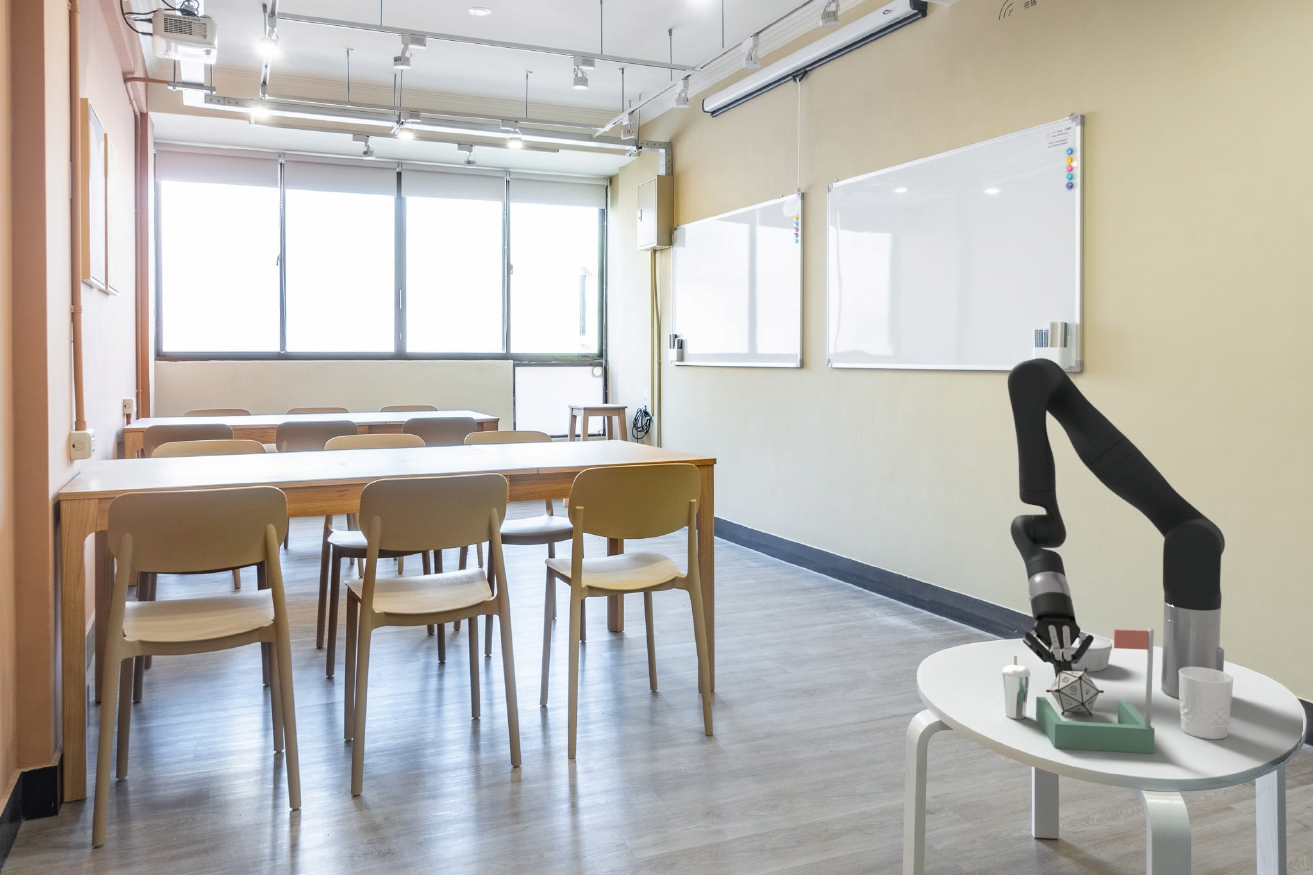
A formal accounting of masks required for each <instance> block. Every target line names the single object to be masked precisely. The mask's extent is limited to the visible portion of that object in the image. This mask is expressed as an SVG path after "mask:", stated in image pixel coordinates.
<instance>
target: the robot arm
mask: <svg viewBox="0 0 1313 875" xmlns="http://www.w3.org/2000/svg"><path fill="white" fill-rule="evenodd" d="M1007 389H1008V396H1009V400H1010V405H1011V410H1012V414H1013V421H1014V429H1015V433H1016V444H1017V453H1018V454H1017V457H1018V458H1017V459H1018V488H1019V490H1018V491H1019V499H1020V501H1021V502H1022V503H1024V504H1025V505H1031V506H1037V507H1040V508H1043V509H1044V511H1045V513H1044V514H1021V515H1017V516H1015V517H1014V519H1013V520H1012V522H1011V524H1010V534H1011V538H1012V541H1013V542H1014V545H1015V546H1016V549H1017V550H1018V552H1019V553H1020V556H1021V558H1022V560H1023V562H1024V564H1025V570H1026V574H1027V580H1028V581H1027V582H1028V595H1029V596H1028V598H1029V602H1030V606H1031V614H1032V619H1033V624H1034V625H1033V626H1032V627H1033V628H1032V630H1031V631H1028V632H1025V633H1024V636H1023V638H1022V641H1023V644H1025V645H1026V646H1027V647H1028V648H1029V649H1030V650H1031V651H1032V652H1033V653H1034V654H1035V655H1036V656H1037V657H1038V658H1039V659H1040V660H1041V661H1042V662H1044V663H1049V664H1052V665H1053V671H1054V674H1055V676H1054V677H1055V678H1056V677H1057V675H1058V673H1059V671H1058V670H1057V667H1059V668H1060V670H1061V671H1074V670H1073V669H1072V665H1071V664H1077V663H1078V662H1079V660H1080V659H1081V658H1082V656H1083V655H1084V654H1085V652H1086V651H1087V650H1088V648H1089V647H1090V646H1091V644H1092V642H1093V640H1094V637H1093V636H1092V635H1093V634H1089V635H1088V636H1087V635H1085V634H1086V633H1083V632H1082V631H1081V628H1080V626H1079V624H1078V623H1077V620H1076V615H1075V609H1074V605H1073V598H1072V594H1071V591H1070V590H1071V589H1070V586H1069V584H1068V581H1067V577H1066V572H1065V567H1064V562H1063V559H1062V556H1061V554H1059V553H1058V552H1056V551H1054V550H1051V549H1055V548H1059V547H1062V546H1063V544H1064V543H1065V542H1066V539H1067V530H1066V526H1065V523H1064V520H1063V517H1062V515H1061V512H1060V508H1059V505H1058V499H1057V489H1056V488H1057V485H1056V484H1057V482H1056V478H1057V477H1056V474H1057V473H1056V463H1055V458H1054V453H1053V449H1052V446H1051V442H1050V440H1049V435H1048V429H1047V413H1049V414H1050V415H1051V417H1053V418H1054V420H1056V421H1057V422H1058V424H1060V426H1061V427H1062V429H1063V430H1064V432H1065V433H1066V435H1067V438H1068V439H1069V441H1070V443H1071V445H1072V447H1073V449H1074V451H1075V453H1076V455H1077V456H1078V457H1079V459H1080V460H1081V462H1082V463H1083V465H1084V466H1085V467H1086V468H1087V469H1088V470H1089V471H1090V472H1091V473H1092V474H1093V475H1094V476H1095V477H1096V478H1097V479H1098V481H1100V483H1102V484H1103V485H1104V486H1105V487H1106V488H1107V489H1109V491H1111V492H1112V493H1114V494H1115V495H1116V496H1118V497H1119V498H1120V499H1121V500H1124V501H1125V502H1127V503H1128V504H1129V505H1131V506H1132V507H1134V508H1136V509H1137V510H1138V511H1139V512H1140V513H1141V514H1143V515H1144V516H1145V517H1146V518H1147V519H1148V520H1149V521H1150V522H1151V524H1153V526H1155V528H1156V530H1158V531H1159V533H1160V534H1161V535H1162V537H1163V538H1164V539H1163V550H1162V552H1163V553H1162V587H1163V588H1162V589H1163V591H1164V592H1163V593H1164V594H1163V595H1164V596H1163V598H1164V600H1163V627H1162V628H1163V630H1162V656H1161V657H1162V658H1161V659H1162V660H1161V676H1160V677H1161V679H1160V680H1161V681H1160V682H1161V690H1162V692H1163V693H1164V694H1167V695H1168V696H1171V697H1174V698H1177V699H1179V670H1180V669H1181V668H1185V667H1202V668H1209V669H1214V670H1218V671H1222V672H1224V669H1225V668H1224V665H1225V663H1224V662H1225V650H1224V648H1222V647H1221V646H1220V643H1221V614H1222V611H1221V610H1222V590H1221V573H1222V572H1221V571H1222V570H1221V569H1222V567H1221V565H1222V555H1223V553H1224V550H1225V549H1226V548H1225V546H1226V541H1225V540H1226V539H1225V537H1224V534H1223V532H1222V530H1221V529H1220V528H1219V527H1218V525H1216V523H1214V522H1213V521H1212V520H1211V519H1209V518H1208V517H1206V515H1205V514H1204V513H1202V512H1200V510H1198V509H1197V508H1196V507H1194V506H1193V505H1192V504H1191V503H1190V502H1188V501H1187V500H1186V499H1185V498H1184V497H1183V496H1182V495H1180V493H1178V492H1177V491H1176V490H1175V489H1174V487H1173V486H1172V485H1171V484H1170V483H1169V482H1168V480H1166V478H1165V477H1164V476H1163V475H1162V473H1161V472H1160V471H1159V470H1158V469H1157V467H1156V466H1155V465H1154V464H1153V463H1152V462H1151V461H1150V460H1149V459H1148V458H1147V457H1146V455H1144V454H1143V452H1142V451H1141V450H1140V449H1139V448H1138V447H1137V446H1136V445H1135V444H1134V443H1133V442H1132V441H1131V440H1130V439H1129V438H1128V437H1127V436H1126V434H1124V433H1123V432H1121V431H1120V430H1119V428H1117V427H1116V425H1114V424H1113V423H1112V422H1111V421H1110V420H1109V419H1108V418H1107V417H1106V416H1105V415H1104V414H1103V413H1102V412H1101V411H1100V410H1099V409H1097V407H1095V406H1094V405H1093V404H1092V403H1091V402H1090V401H1089V400H1088V399H1087V398H1086V397H1085V395H1084V394H1083V393H1082V391H1081V390H1080V389H1079V388H1078V387H1077V385H1076V384H1075V383H1074V382H1073V381H1072V379H1071V378H1070V377H1069V376H1068V375H1067V373H1066V372H1065V371H1064V369H1063V368H1062V366H1060V365H1059V364H1058V363H1057V362H1055V361H1053V360H1051V359H1049V358H1043V357H1040V358H1039V357H1038V358H1037V357H1036V358H1033V359H1029V360H1024V361H1021V362H1019V363H1017V364H1016V365H1014V367H1013V368H1012V369H1011V370H1010V372H1009V373H1008V378H1007ZM1077 637H1078V638H1079V642H1078V643H1079V645H1080V646H1079V648H1078V649H1077V650H1076V652H1075V653H1074V654H1071V646H1072V645H1073V643H1074V642H1075V640H1076V639H1077ZM1044 645H1045V646H1044Z"/></svg>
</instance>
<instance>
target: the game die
mask: <svg viewBox="0 0 1313 875" xmlns="http://www.w3.org/2000/svg"><path fill="white" fill-rule="evenodd" d="M1057 670H1058V671H1059V673H1058V675H1057V677H1056V676H1055V680H1054V682H1053V684H1052V686H1051V687H1050V689H1046V690H1045V692H1046V693H1051V695H1052V696H1053V698H1054V700H1055V701H1056V702H1057V704H1058V705H1059V707H1060V708H1061V709H1062V711H1061V713H1060V714H1061V716H1065V713H1088V715H1089V716H1091V717H1093V713H1092V711H1091V710H1092V708H1093V706H1094V704H1095V702H1096V700H1097V698H1098V697H1099V694H1103V693H1105V691H1104V690H1103V689H1100V690H1099V689H1098V686H1096V684H1095V683H1094V681H1093V680H1092V679H1091V677H1090V676H1089V674H1088V672H1086V671H1087V667H1086V668H1084V671H1078V670H1073V671H1061V670H1060V668H1059V667H1057Z"/></svg>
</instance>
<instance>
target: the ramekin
mask: <svg viewBox="0 0 1313 875" xmlns="http://www.w3.org/2000/svg"><path fill="white" fill-rule="evenodd" d="M1084 634H1085V635H1087V636H1088V635H1090V634H1087V633H1084ZM1091 635H1092V636H1093V637H1094V640H1093V642H1092V644H1091V646H1090V647H1089V648H1088V650H1087V651H1086V652H1085V654H1084V655H1083V656H1082V658H1081V659H1080V660H1079V662H1078V663H1077V664H1071V665H1072V670H1073V671H1084V668H1086V667H1087V671H1086V673H1090V672H1102V671H1104V670H1105V669H1106V668H1107V666H1108V664H1109V661H1110V656H1111V653H1112V652H1111V651H1112V650H1113V643H1112V641H1110V640H1108V639H1107V638H1104V637H1102V636H1098V635H1094V634H1091ZM1078 642H1079V638H1078V637H1077V639H1076V640H1075V642H1074V643H1073V645H1072V646H1071V654H1074V653H1075V652H1076V650H1077V649H1078V648H1079V646H1080V645H1079V643H1078Z"/></svg>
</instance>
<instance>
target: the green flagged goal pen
mask: <svg viewBox="0 0 1313 875" xmlns="http://www.w3.org/2000/svg"><path fill="white" fill-rule="evenodd" d="M1154 631H1155V630H1154V629H1152V628H1148V629H1147V630H1146V629H1145V630H1141V629H1139V630H1138V629H1115V628H1114V630H1113V649H1124V650H1125V649H1126V650H1146V651H1147V654H1146V681H1145V682H1146V683H1145V684H1146V685H1145V716H1144V717H1143V715H1142V714H1141V713H1140V712H1139V711H1137V709H1136V708H1135V707H1134V706H1133V705H1132V703H1130V702H1129V701H1128V700H1118V701H1117V723H1111V722H1110V723H1105V722H1090V721H1089V722H1088V721H1087V722H1085V721H1072V720H1071V721H1070V720H1062V718H1061V716H1060V715H1059V714H1058V712H1057V711H1056V710H1055V709H1054V707H1053V706H1052V704H1051V702H1050V701H1049V700H1048V698H1047V697H1046V696H1036V698H1035V700H1036V701H1035V720H1036V721H1037V723H1038V725H1039V726H1040V727H1041V729H1042V730H1043V732H1044V733H1045V735H1046V737H1047V738H1048V740H1049V741H1050V743H1051V744H1052V746H1053V747H1054V748H1055V749H1070V750H1071V749H1072V750H1088V751H1102V752H1118V753H1120V752H1121V753H1138V754H1139V753H1140V754H1152V755H1153V754H1155V731H1156V730H1155V728H1154V727H1153V725H1151V724H1152V698H1153V696H1152V695H1153V694H1152V692H1153V671H1154V670H1153V665H1154V637H1155V635H1154V634H1155V633H1154Z"/></svg>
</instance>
